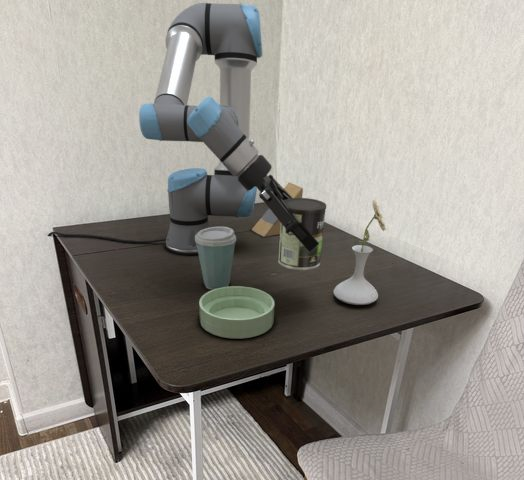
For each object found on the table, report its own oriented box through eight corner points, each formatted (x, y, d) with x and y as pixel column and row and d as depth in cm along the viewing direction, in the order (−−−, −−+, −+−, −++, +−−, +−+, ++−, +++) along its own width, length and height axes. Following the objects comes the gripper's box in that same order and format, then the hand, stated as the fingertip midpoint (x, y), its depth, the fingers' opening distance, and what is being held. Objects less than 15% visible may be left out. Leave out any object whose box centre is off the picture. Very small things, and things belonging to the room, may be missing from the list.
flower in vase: (367, 313, 118) (384, 212, 105) (325, 301, 123) (336, 203, 110) (385, 295, 127) (403, 200, 114) (345, 284, 132) (358, 192, 119)
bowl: (185, 326, 110) (184, 307, 107) (225, 298, 123) (225, 280, 120) (250, 347, 103) (250, 327, 100) (285, 315, 116) (287, 296, 113)
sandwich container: (250, 229, 169) (251, 186, 161) (286, 223, 176) (288, 181, 168) (263, 237, 163) (264, 192, 155) (299, 230, 170) (303, 187, 162)
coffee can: (322, 257, 119) (328, 199, 112) (318, 272, 110) (324, 211, 103) (281, 252, 121) (284, 195, 113) (274, 267, 112) (277, 207, 104)
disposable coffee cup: (205, 296, 123) (203, 240, 115) (190, 280, 131) (187, 227, 123) (242, 289, 127) (243, 234, 119) (226, 274, 135) (225, 222, 127)
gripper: (256, 163, 93) (328, 245, 101) (263, 144, 113) (324, 214, 120) (229, 190, 96) (301, 267, 104) (241, 167, 116) (301, 234, 123)
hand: (313, 239), depth 112 cm, fingers closed on coffee can, 10 cm apart
